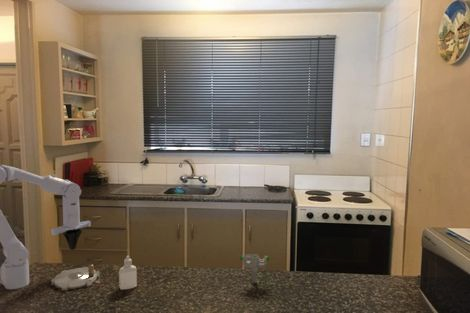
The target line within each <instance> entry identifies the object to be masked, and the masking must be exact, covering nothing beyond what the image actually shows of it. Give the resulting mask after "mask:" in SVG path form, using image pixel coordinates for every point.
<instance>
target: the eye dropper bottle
mask: <svg viewBox="0 0 470 313" xmlns="http://www.w3.org/2000/svg"><path fill="white" fill-rule="evenodd" d="M132 261H133V260H132V259H131V258H130V256H129V255H126V257H125V259H124V260H123V262H124V263H123V266H122V267H120V268H119V274H118V276H119V277H118V278H119V289H120V290H129V289H134V288H136V287H137V285H138V280H137V279H138V276H137V274H138V273H137V270H138V269H137V266H135V265H134V264H133V263H132Z"/></svg>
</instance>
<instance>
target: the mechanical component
mask: <svg viewBox="0 0 470 313" xmlns="http://www.w3.org/2000/svg"><path fill="white" fill-rule="evenodd" d="M240 261H242V265H243V267H245V268H251V269H250V271H251V272H252V276H251V278H252V279H251V280H252V281H251V282H252V284H256V283H257V272H258V271H259V269H258V268H266V267H267V265H268V264H267V262H269V261H270V256H267V255H264V257H263V258H260V256H259V254H256V253H255V254H254V253H253V254H251V253H250V254H248V253H247V254H246V253H245V254H244V253H243V254H242V255H240Z"/></svg>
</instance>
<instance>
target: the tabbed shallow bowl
mask: <svg viewBox="0 0 470 313" xmlns="http://www.w3.org/2000/svg"><path fill="white" fill-rule="evenodd" d="M100 274H101V273H100V270H95V268H94V264H88V265H87V266H83V267H76V268H71V269H65V270H62V271H60V273H58V274H57V275H56V276H54V278H52V279H51V286H55V288H57V289H60V290H62V291H68V290H75V289H80V288H83V287H89V286H91V285H92V286H93V283H94V282H96V281H97V278H99V277H100Z"/></svg>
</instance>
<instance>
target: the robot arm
mask: <svg viewBox="0 0 470 313" xmlns="http://www.w3.org/2000/svg"><path fill="white" fill-rule="evenodd" d="M5 180H6V182H9V181H13V180H18V181H22V182H26V183H30V184H34V185H37V186H39V187H40V189H41V190H42V191H44V192H48V193H52V194H56V195H58V196H62V223H63V225H61V226H60V225H59V226H58V227H55V228H52V229H50V232H51V233H50V234H51V235H52V236H57V235H58V234H62V235H63V236H64V237H65V240H66V242H67V244H68V248H69V250H72V251H73V250H76V248H77V245H78V241H79V238H80V236H81V235H82V231H83V230H82V229H83V228H87V227H92V222H91V221H90V220H85V221H81V218H80V217H81V216H80V215H81V211H80V209H81V208H80V196H81V195H82V191H83V190H81V187H80V185H79V184H77V183H75V182H73V181H70V180H69V179H67V178H66V179H62V178H59V177H57V175H56V174H51V175H50V174H48V175H47V174H46V175H45V176H40V175H38V174H35V173H32V172H29V171H27V170H25V169H21V168H17V167H15V166H9V165H6V164H0V185H1V184H2V183H4V181H5ZM0 243H1V245H2V253H3V255H4V256H5V260H4V262H3V263H2V264H1V266H0V281H1V282H0V283H1V285H2V286H4V288H5V289H7V290H16V289H21V288H23V287H26V286H28V285H29V284H30V268H29V264H30V263H29V256H30V252H29V250H28V249H27V248H26V247H25V246H24V244H23V242H21V241H20V240H19V239H18V238H17V236H16V234H15V233H14V231H13V229H12V227H11V226H10V224H9V222H8V220H7V219H6V217H5V215H4V214H3V211H2V210H1V209H0Z"/></svg>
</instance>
